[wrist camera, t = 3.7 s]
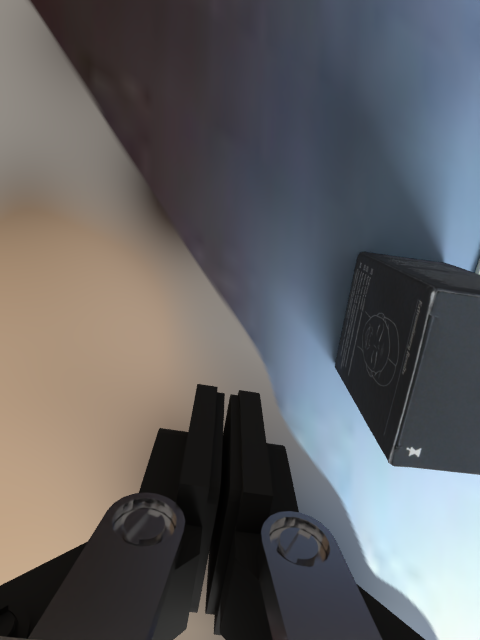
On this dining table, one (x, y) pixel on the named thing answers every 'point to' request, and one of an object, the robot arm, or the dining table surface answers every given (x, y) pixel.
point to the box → (415, 360)
